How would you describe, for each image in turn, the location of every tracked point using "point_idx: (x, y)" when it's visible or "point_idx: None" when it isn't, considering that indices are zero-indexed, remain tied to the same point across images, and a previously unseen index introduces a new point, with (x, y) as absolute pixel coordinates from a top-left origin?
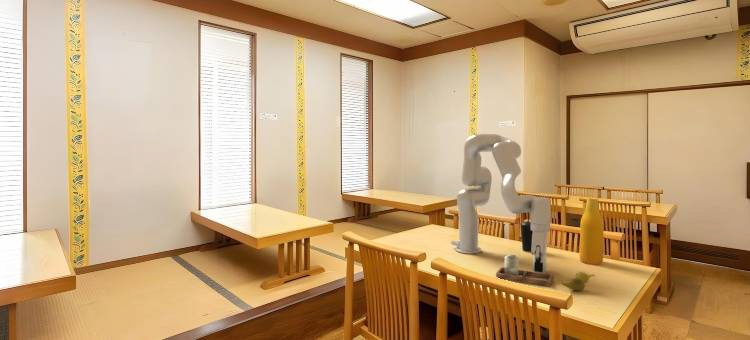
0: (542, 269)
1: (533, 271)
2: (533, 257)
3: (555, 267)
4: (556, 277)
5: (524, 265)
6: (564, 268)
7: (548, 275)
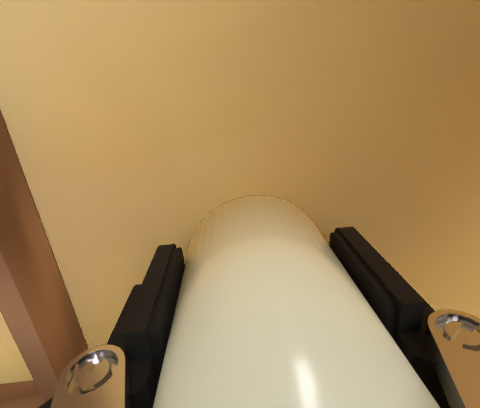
0: None
1: (213, 211)
2: (211, 343)
3: None
4: None
5: (426, 41)
6: None
7: None
